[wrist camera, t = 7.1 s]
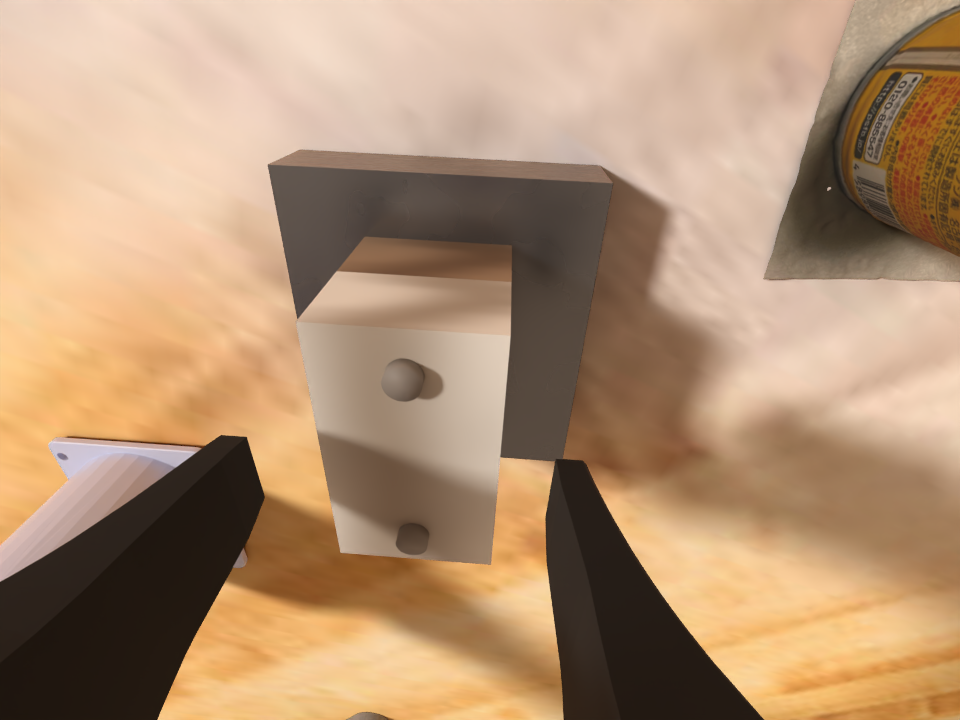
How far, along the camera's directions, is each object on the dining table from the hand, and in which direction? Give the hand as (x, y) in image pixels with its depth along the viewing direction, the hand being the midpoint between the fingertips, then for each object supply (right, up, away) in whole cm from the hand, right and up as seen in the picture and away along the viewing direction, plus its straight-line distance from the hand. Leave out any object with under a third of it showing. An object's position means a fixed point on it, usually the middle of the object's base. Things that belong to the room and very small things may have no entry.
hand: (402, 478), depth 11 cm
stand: (+1, +5, +8) cm, 9 cm away
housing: (0, +3, +6) cm, 7 cm away
